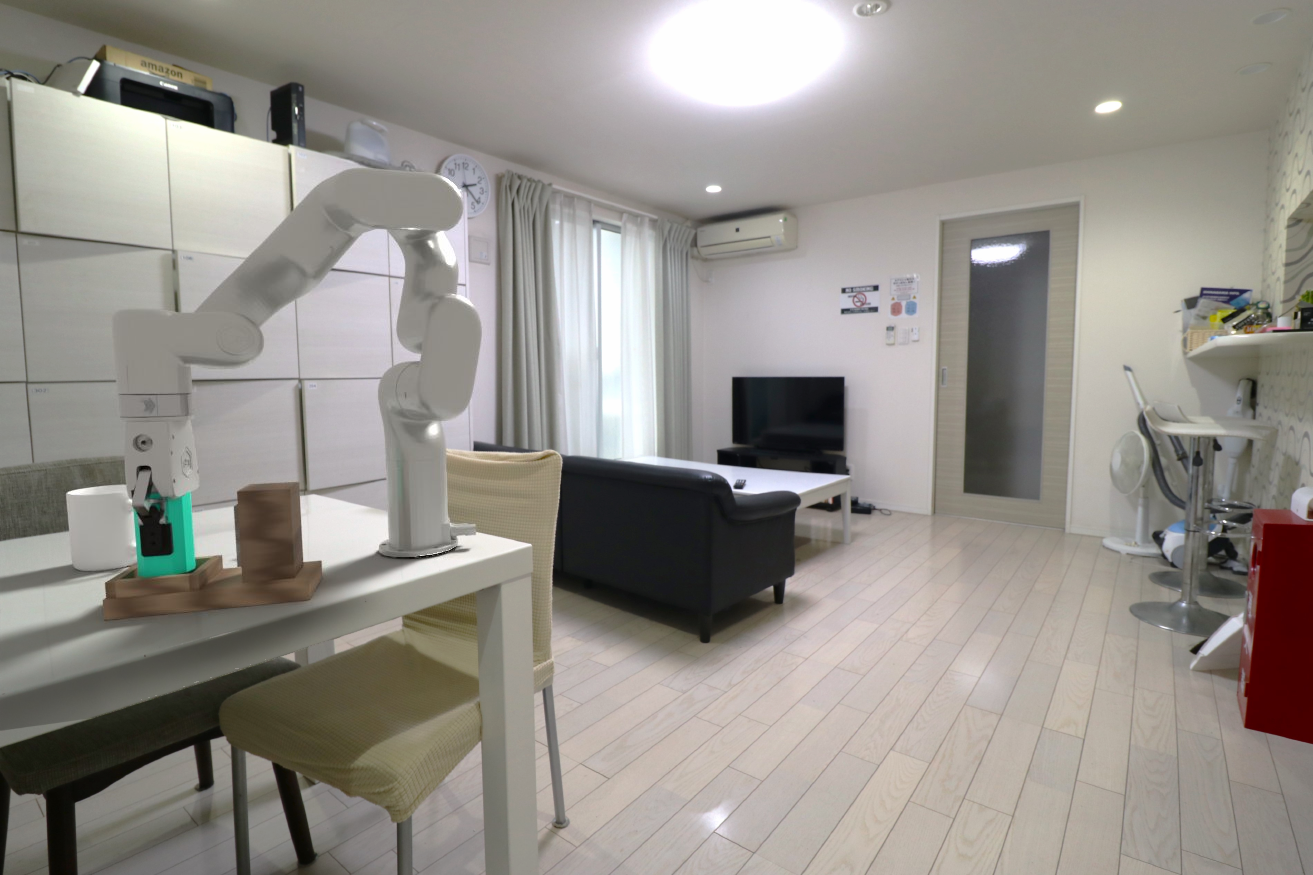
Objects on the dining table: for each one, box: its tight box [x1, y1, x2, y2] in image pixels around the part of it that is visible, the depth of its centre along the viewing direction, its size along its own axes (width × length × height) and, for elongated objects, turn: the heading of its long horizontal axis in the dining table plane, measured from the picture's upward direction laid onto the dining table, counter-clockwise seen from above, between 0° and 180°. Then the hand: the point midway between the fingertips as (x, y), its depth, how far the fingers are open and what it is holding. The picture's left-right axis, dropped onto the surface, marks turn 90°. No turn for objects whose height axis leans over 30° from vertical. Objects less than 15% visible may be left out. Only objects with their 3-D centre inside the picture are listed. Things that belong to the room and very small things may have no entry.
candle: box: [133, 491, 196, 577], centre depth 82 cm, size 6×6×12 cm
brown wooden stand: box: [102, 481, 323, 621], centre depth 84 cm, size 22×10×14 cm, turn 109°
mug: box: [65, 484, 137, 572], centre depth 100 cm, size 10×12×12 cm
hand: (166, 548), depth 82 cm, fingers closed on candle, 4 cm apart
